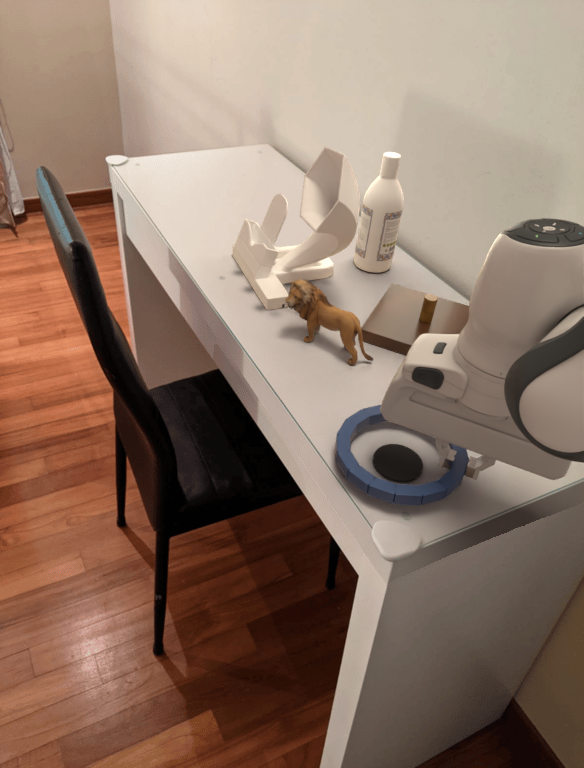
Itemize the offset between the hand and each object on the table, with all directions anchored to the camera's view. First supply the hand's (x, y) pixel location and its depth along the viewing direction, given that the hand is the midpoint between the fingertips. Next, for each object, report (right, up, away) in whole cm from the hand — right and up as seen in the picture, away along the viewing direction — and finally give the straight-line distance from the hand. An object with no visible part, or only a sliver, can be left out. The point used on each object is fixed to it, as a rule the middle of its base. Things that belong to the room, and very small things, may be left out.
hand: (457, 469), depth 70 cm
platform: (+2, +18, +27) cm, 32 cm away
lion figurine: (-14, +15, +21) cm, 30 cm away
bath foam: (-4, +31, +42) cm, 53 cm away
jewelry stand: (-18, +26, +34) cm, 47 cm away
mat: (-6, 0, +3) cm, 7 cm away
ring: (-6, +1, +3) cm, 7 cm away
